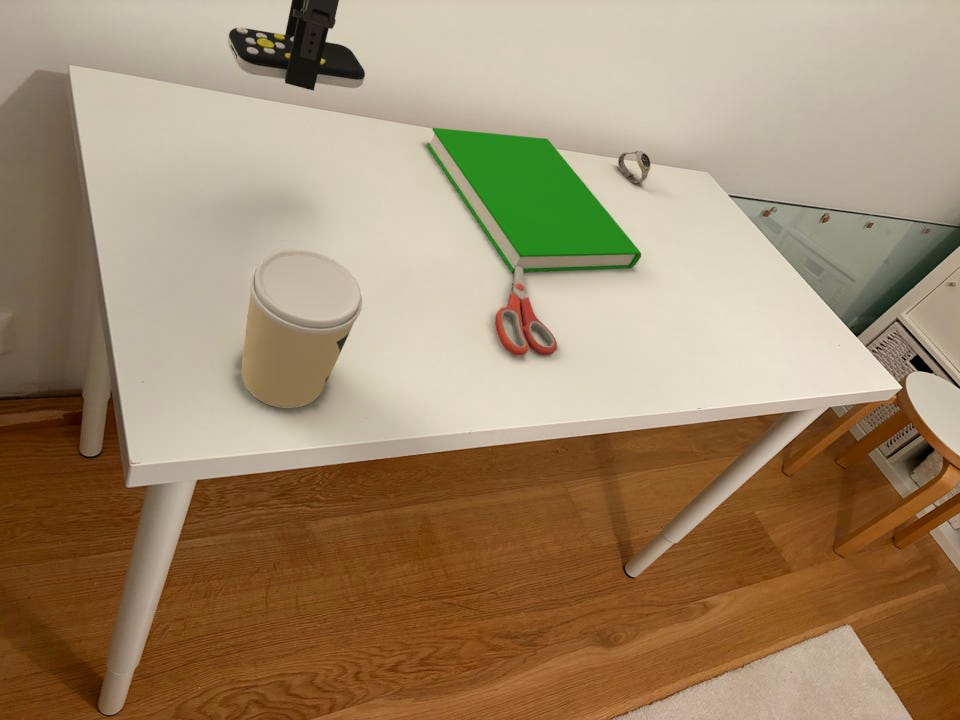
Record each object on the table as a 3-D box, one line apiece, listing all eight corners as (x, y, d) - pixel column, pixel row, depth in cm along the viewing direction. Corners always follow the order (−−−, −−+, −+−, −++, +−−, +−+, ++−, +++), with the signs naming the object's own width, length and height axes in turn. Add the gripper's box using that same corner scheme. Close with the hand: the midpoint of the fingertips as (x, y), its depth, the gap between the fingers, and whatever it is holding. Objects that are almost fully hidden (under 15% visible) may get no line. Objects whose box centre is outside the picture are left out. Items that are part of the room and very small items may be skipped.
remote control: (365, 92, 74) (371, 74, 72) (239, 75, 67) (243, 55, 65) (345, 60, 77) (350, 42, 76) (223, 41, 70) (226, 21, 68)
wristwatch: (634, 187, 126) (649, 163, 122) (610, 166, 128) (624, 142, 125) (645, 185, 128) (660, 161, 125) (621, 164, 130) (635, 140, 127)
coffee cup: (342, 413, 68) (376, 324, 60) (240, 419, 63) (263, 323, 56) (320, 340, 73) (349, 250, 66) (224, 341, 69) (243, 244, 61)
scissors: (522, 247, 98) (526, 239, 97) (558, 364, 85) (564, 356, 84) (470, 236, 95) (474, 228, 94) (500, 356, 82) (505, 348, 81)
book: (511, 272, 94) (521, 255, 92) (426, 145, 109) (433, 127, 107) (633, 268, 107) (643, 252, 105) (542, 154, 121) (550, 139, 119)
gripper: (420, -151, 52) (342, 128, 67) (389, -214, 65) (329, 31, 80) (315, -196, 49) (258, 107, 64) (305, -252, 62) (259, 10, 77)
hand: (298, 65), depth 72 cm, fingers closed on remote control, 7 cm apart
